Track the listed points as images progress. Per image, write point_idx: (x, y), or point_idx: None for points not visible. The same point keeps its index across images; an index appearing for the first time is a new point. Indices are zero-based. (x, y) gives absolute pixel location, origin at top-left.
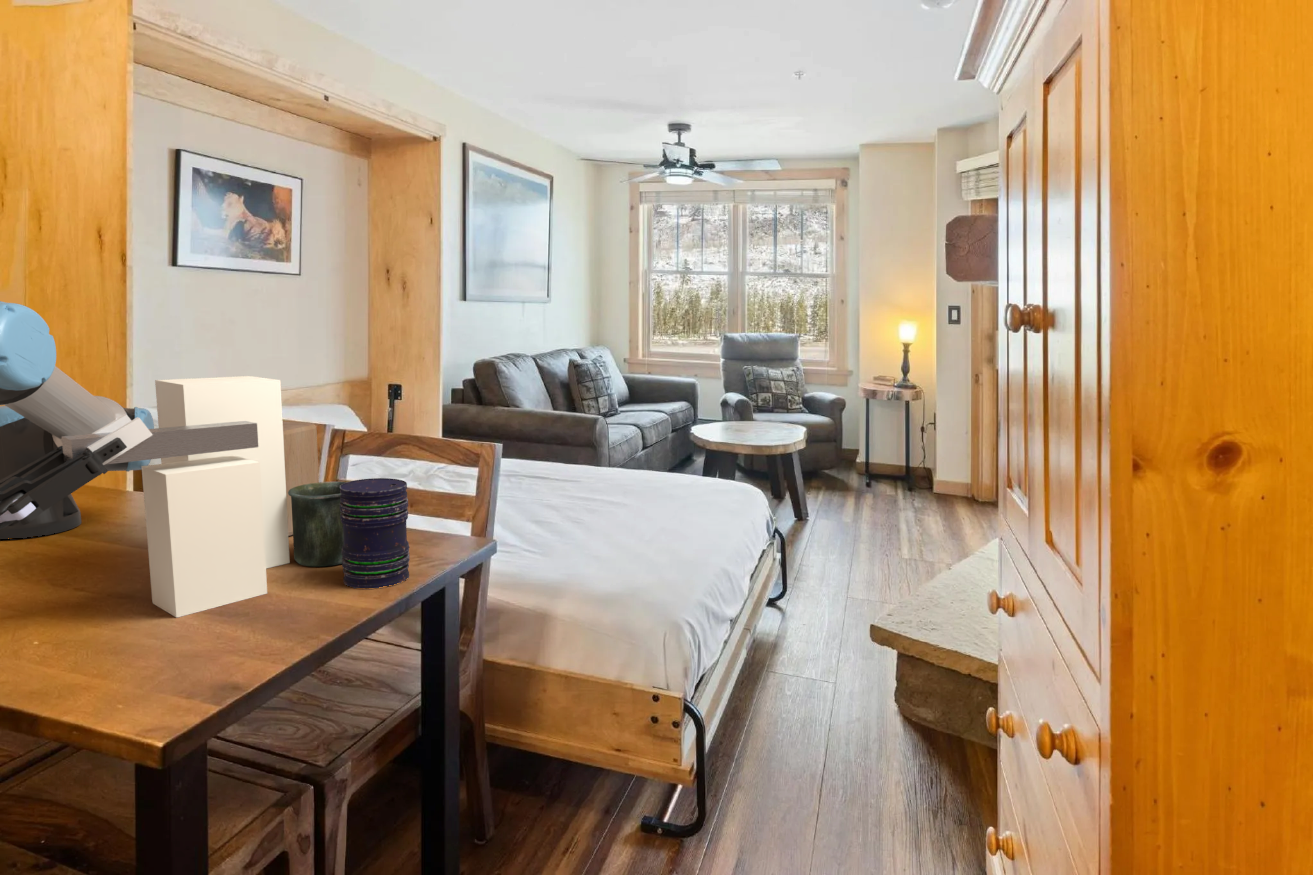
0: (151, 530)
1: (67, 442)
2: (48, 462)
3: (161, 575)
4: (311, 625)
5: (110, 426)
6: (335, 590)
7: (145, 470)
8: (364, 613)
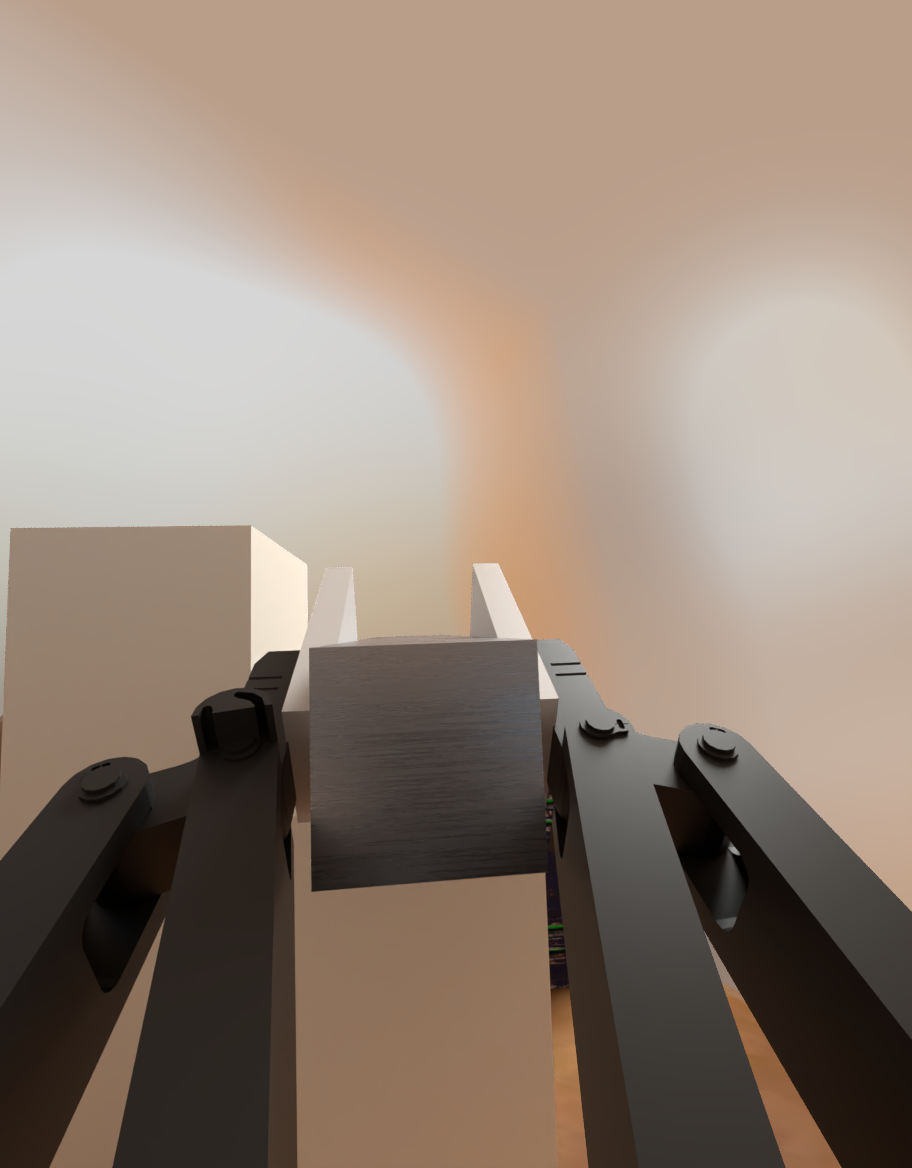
0: (346, 1116)
1: (443, 676)
2: (273, 918)
3: None
4: (809, 1114)
5: (346, 611)
6: (571, 1009)
7: None
8: (751, 1016)
